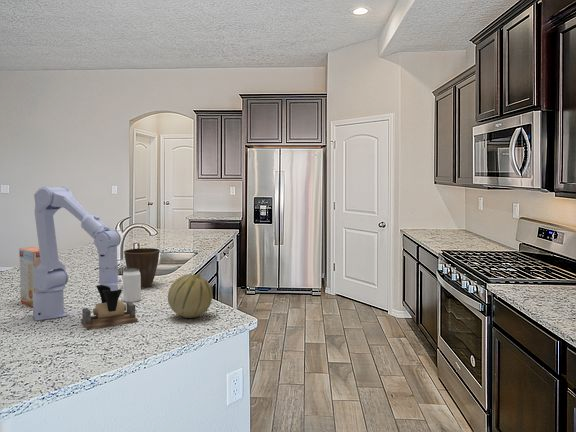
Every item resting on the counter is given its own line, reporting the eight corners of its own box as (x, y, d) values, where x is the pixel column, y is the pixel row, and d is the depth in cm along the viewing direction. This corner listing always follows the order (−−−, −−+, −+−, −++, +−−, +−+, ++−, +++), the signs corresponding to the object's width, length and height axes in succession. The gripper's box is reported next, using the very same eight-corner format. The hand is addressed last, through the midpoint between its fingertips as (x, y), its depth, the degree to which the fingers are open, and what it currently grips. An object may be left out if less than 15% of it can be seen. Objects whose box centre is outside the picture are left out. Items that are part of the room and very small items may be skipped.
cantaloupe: (165, 313, 168) (164, 271, 167) (206, 309, 174) (206, 268, 173) (172, 325, 154) (171, 279, 153) (217, 320, 160) (216, 275, 159)
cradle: (87, 329, 150) (87, 313, 149) (81, 321, 158) (80, 306, 158) (137, 321, 158) (137, 306, 158) (129, 314, 166) (128, 300, 166)
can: (134, 297, 191) (134, 267, 191) (144, 300, 187) (143, 269, 186) (120, 300, 186) (119, 270, 186) (129, 303, 182) (128, 272, 181)
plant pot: (160, 289, 207) (160, 252, 206) (123, 291, 203) (123, 253, 202) (159, 282, 221) (159, 247, 220) (125, 284, 217) (124, 248, 216)
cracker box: (51, 305, 179) (49, 249, 177) (33, 308, 174) (31, 251, 173) (37, 299, 188) (35, 246, 187) (20, 302, 184) (18, 247, 182)
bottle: (95, 321, 153) (95, 306, 153) (92, 317, 157) (91, 302, 157) (127, 316, 159) (127, 301, 158) (123, 313, 163) (123, 298, 163)
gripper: (126, 269, 153) (127, 311, 154) (115, 263, 165) (116, 302, 166) (103, 271, 149) (104, 314, 150) (93, 265, 161) (94, 305, 162)
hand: (109, 308), depth 158 cm, fingers open, 7 cm apart
